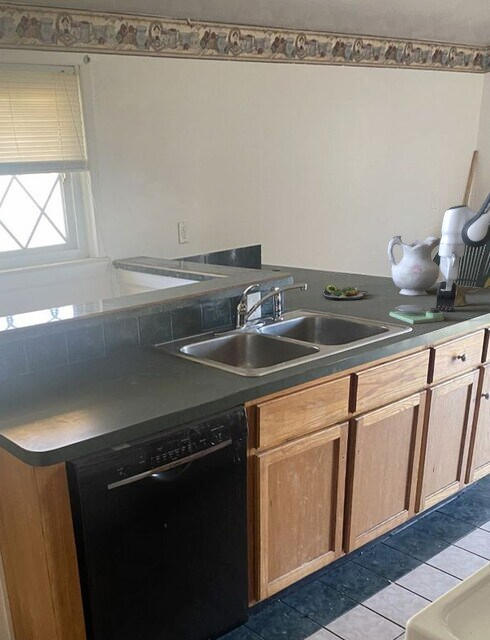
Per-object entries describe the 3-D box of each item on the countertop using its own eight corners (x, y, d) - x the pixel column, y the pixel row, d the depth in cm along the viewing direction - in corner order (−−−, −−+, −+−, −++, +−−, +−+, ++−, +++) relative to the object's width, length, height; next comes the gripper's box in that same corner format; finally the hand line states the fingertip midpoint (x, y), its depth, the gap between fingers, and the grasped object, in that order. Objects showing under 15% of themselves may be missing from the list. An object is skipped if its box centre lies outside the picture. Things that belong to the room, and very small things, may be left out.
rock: (472, 298, 263) (448, 292, 269) (472, 283, 256) (447, 277, 262) (459, 318, 260) (435, 311, 266) (458, 303, 254) (434, 297, 260)
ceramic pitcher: (392, 301, 280) (400, 241, 268) (377, 289, 297) (384, 232, 285) (442, 298, 280) (452, 239, 268) (424, 287, 297) (433, 230, 286)
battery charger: (433, 311, 255) (436, 281, 250) (436, 309, 258) (439, 280, 253) (452, 313, 251) (456, 283, 247) (454, 311, 254) (458, 281, 249)
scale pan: (429, 310, 244) (429, 309, 243) (405, 313, 241) (405, 311, 241) (412, 305, 253) (413, 303, 252) (390, 308, 250) (390, 306, 250)
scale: (445, 320, 241) (446, 312, 240) (413, 324, 238) (414, 316, 237) (419, 312, 255) (420, 304, 253) (389, 315, 251) (390, 308, 250)
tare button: (440, 313, 241) (441, 309, 240) (433, 314, 240) (433, 309, 239) (435, 311, 243) (435, 307, 243) (428, 312, 243) (428, 308, 242)
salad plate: (364, 291, 294) (364, 281, 292) (371, 300, 278) (372, 289, 276) (320, 292, 296) (320, 282, 294) (325, 301, 280) (326, 290, 278)
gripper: (464, 255, 235) (459, 293, 241) (456, 247, 253) (451, 282, 259) (446, 255, 237) (441, 293, 242) (439, 247, 255) (434, 282, 260)
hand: (446, 287), depth 251 cm, fingers open, 8 cm apart
